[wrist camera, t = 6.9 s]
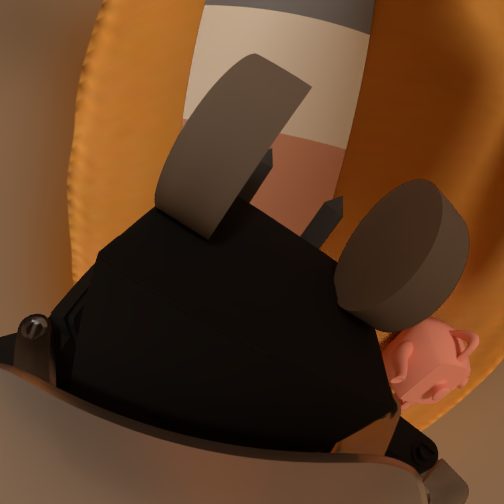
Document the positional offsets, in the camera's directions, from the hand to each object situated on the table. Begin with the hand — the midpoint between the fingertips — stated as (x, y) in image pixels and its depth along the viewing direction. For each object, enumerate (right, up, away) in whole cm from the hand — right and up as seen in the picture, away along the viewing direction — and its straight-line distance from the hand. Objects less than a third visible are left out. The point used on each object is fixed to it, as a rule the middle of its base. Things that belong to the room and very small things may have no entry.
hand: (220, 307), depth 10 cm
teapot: (+23, -9, +21) cm, 33 cm away
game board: (+3, +17, +8) cm, 19 cm away
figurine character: (0, +1, +1) cm, 1 cm away
